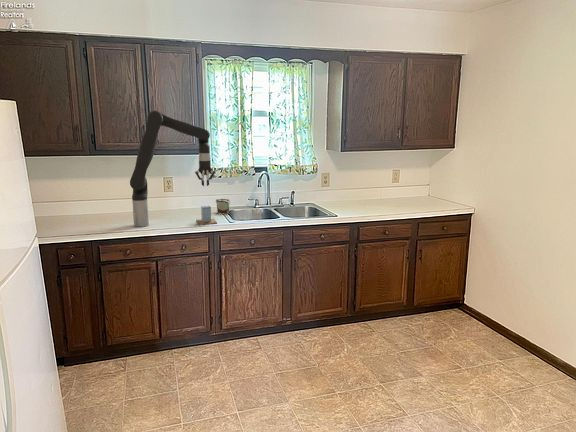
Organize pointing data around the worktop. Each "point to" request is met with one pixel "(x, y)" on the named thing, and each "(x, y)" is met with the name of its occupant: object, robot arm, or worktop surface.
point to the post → (206, 222)
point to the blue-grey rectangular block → (206, 213)
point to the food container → (223, 205)
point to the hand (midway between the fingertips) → (205, 185)
